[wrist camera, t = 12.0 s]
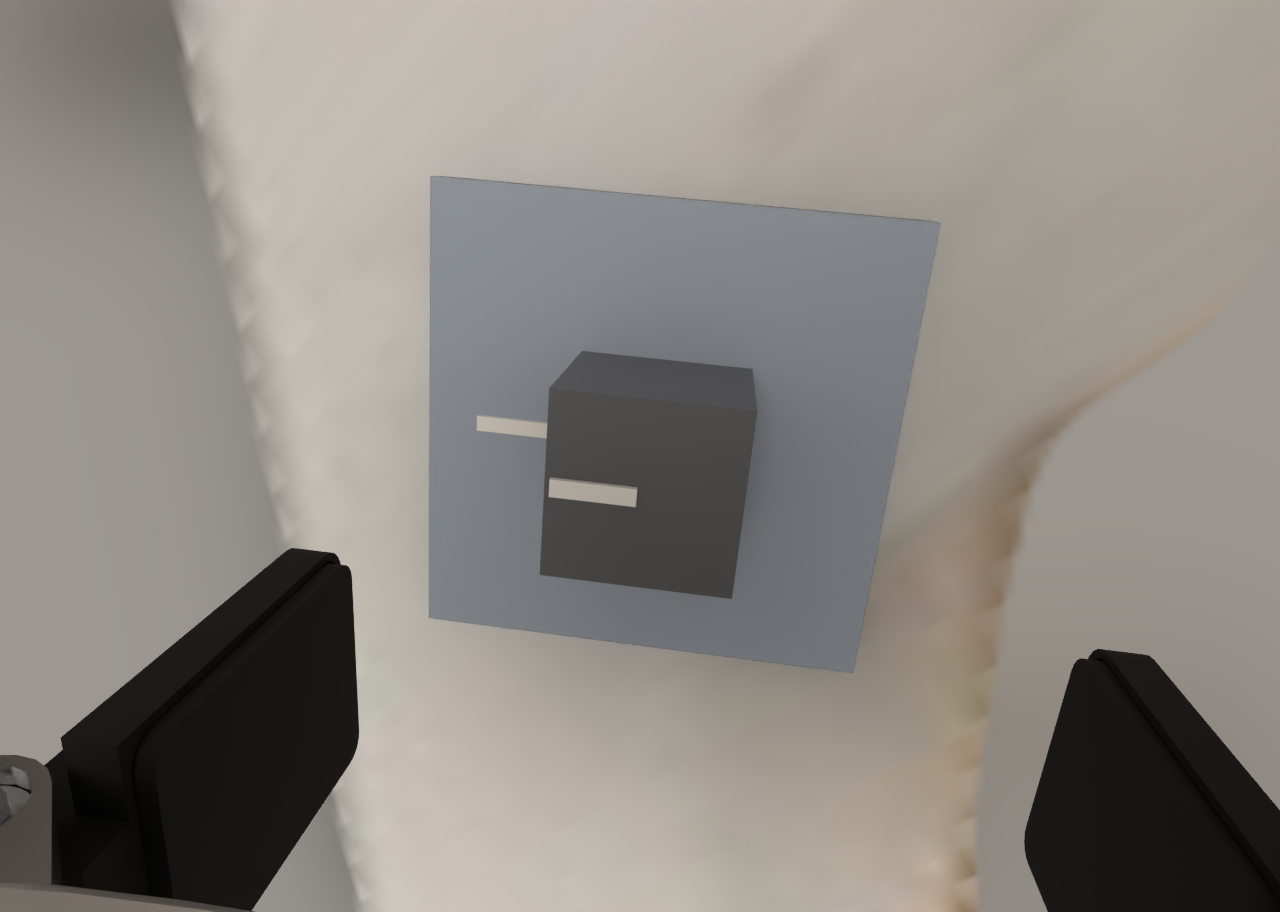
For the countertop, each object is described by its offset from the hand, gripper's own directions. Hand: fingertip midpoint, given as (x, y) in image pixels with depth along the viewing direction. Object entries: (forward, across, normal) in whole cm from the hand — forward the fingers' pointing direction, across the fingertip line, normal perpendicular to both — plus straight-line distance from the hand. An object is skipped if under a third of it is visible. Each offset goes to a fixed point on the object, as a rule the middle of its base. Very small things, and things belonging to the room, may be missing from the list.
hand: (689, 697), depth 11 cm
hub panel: (+23, +2, +4) cm, 23 cm away
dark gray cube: (+21, +2, +4) cm, 22 cm away
